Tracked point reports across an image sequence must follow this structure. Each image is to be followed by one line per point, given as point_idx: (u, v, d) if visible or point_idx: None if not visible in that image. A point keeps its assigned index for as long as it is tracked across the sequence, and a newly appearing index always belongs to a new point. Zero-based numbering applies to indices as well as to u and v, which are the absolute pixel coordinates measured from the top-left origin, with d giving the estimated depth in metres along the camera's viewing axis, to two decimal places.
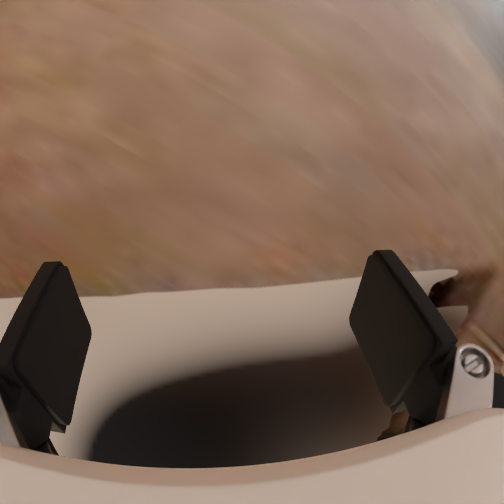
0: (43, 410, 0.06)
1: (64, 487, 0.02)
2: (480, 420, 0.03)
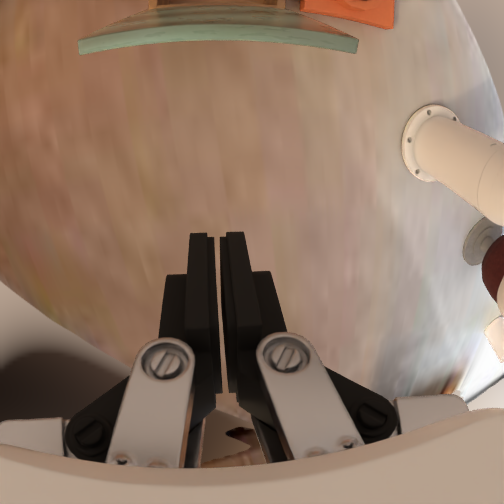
0: (213, 378, 0.07)
1: (64, 488, 0.02)
2: (480, 420, 0.03)
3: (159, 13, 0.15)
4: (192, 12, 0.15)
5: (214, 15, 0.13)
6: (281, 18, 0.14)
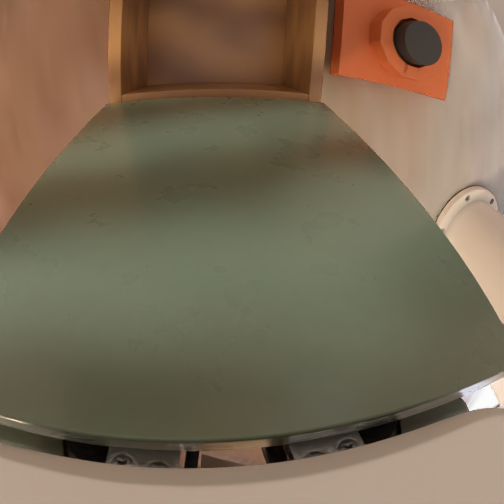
0: None
1: (65, 488, 0.02)
2: (480, 420, 0.03)
3: (105, 159, 0.10)
4: (165, 174, 0.09)
5: (213, 231, 0.07)
6: (363, 228, 0.08)
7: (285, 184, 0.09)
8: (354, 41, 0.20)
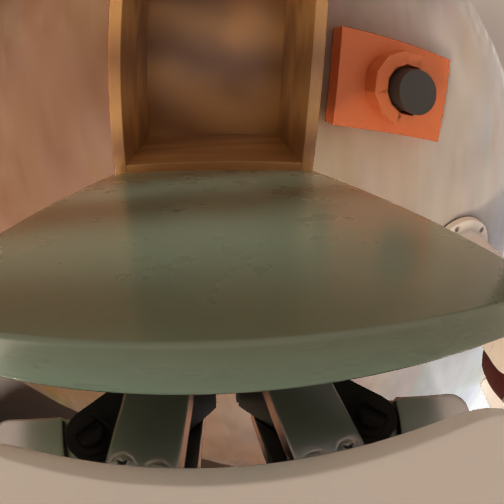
0: None
1: (65, 488, 0.02)
2: (480, 420, 0.03)
3: (112, 196, 0.11)
4: (168, 200, 0.10)
5: (212, 222, 0.07)
6: (358, 220, 0.08)
7: (280, 203, 0.09)
8: (349, 89, 0.23)
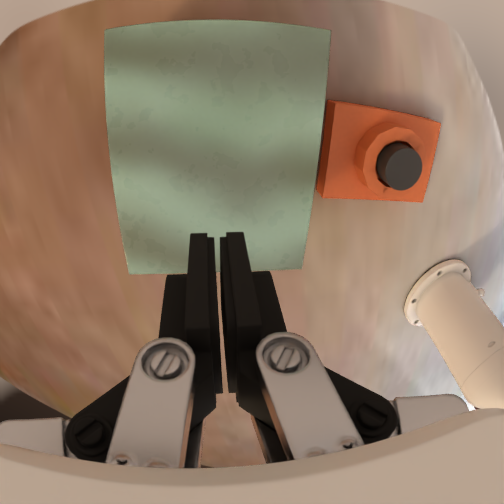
0: (213, 377, 0.07)
1: (65, 488, 0.02)
2: (480, 420, 0.03)
3: None
4: None
5: None
6: None
7: None
8: (339, 164, 0.27)
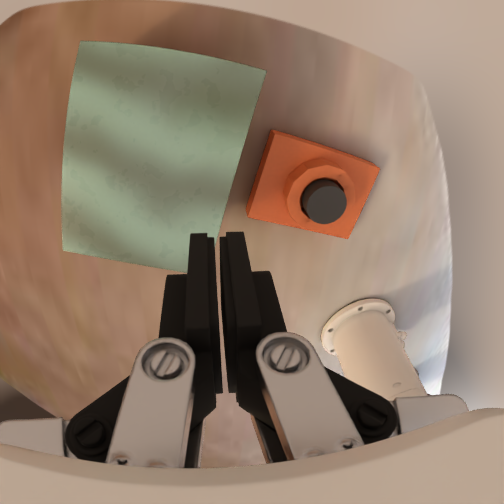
0: (213, 377, 0.07)
1: (65, 488, 0.02)
2: (480, 420, 0.03)
3: None
4: None
5: None
6: None
7: None
8: (268, 190, 0.30)
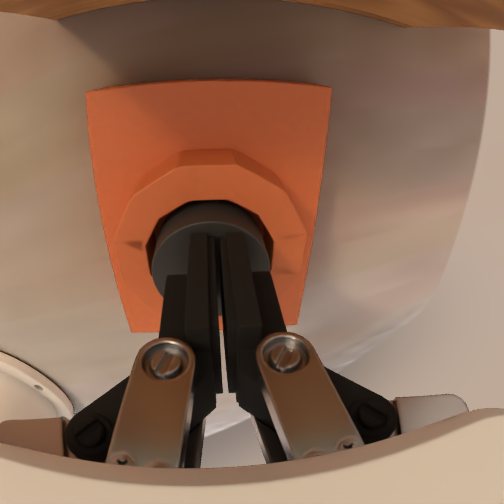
0: (213, 377, 0.07)
1: (65, 488, 0.02)
2: (480, 420, 0.03)
3: None
4: None
5: None
6: None
7: None
8: (175, 113, 0.10)
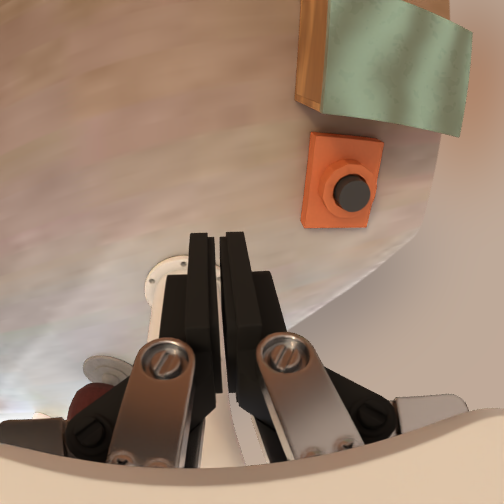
0: (213, 377, 0.07)
1: (64, 487, 0.02)
2: (480, 420, 0.03)
3: None
4: None
5: None
6: None
7: None
8: (341, 147, 0.34)
